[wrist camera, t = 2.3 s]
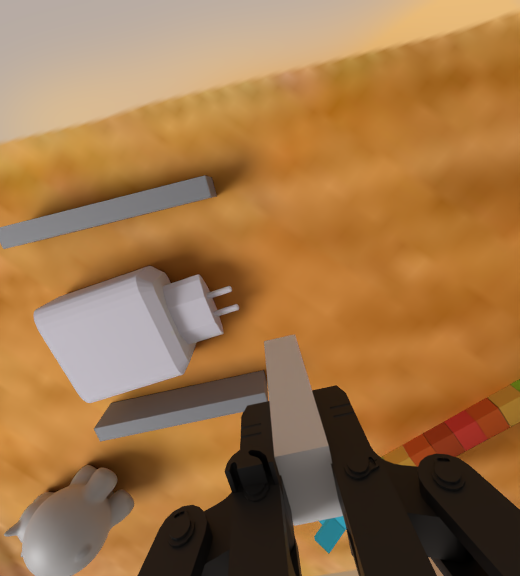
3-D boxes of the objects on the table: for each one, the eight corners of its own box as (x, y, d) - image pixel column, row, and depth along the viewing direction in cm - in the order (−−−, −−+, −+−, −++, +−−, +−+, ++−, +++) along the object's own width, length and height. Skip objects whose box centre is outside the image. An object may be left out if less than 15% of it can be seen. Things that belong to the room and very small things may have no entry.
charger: (253, 331, 29) (111, 376, 30) (218, 240, 26) (64, 293, 28) (253, 357, 25) (86, 408, 26) (211, 251, 22) (27, 314, 23)
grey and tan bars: (208, 164, 24) (201, 160, 21) (269, 391, 31) (270, 415, 28) (-176, 262, 26) (-238, 273, 23) (-41, 456, 33) (-74, 486, 30)
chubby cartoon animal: (48, 451, 36) (-36, 527, 29) (117, 459, 31) (35, 553, 24) (77, 495, 38) (5, 576, 31) (146, 509, 33) (79, 610, 26)
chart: (322, 511, 37) (365, 715, 22) (307, 496, 36) (341, 697, 22) (566, 377, 32) (823, 533, 17) (554, 356, 31) (815, 500, 16)
